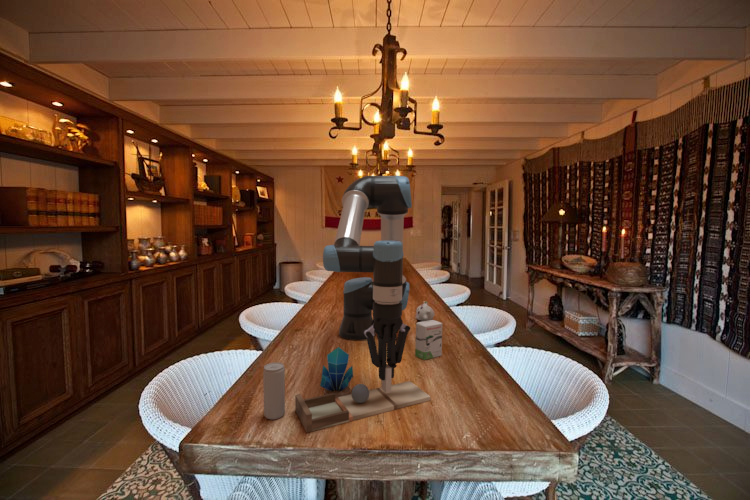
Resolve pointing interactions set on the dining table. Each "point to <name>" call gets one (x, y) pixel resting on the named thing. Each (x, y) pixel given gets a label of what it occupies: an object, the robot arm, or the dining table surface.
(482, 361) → the dining table surface
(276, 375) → the beverage can
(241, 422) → the dining table surface
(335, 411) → the lane
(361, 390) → the ball
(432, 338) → the ink box
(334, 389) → the gemstone
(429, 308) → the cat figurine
